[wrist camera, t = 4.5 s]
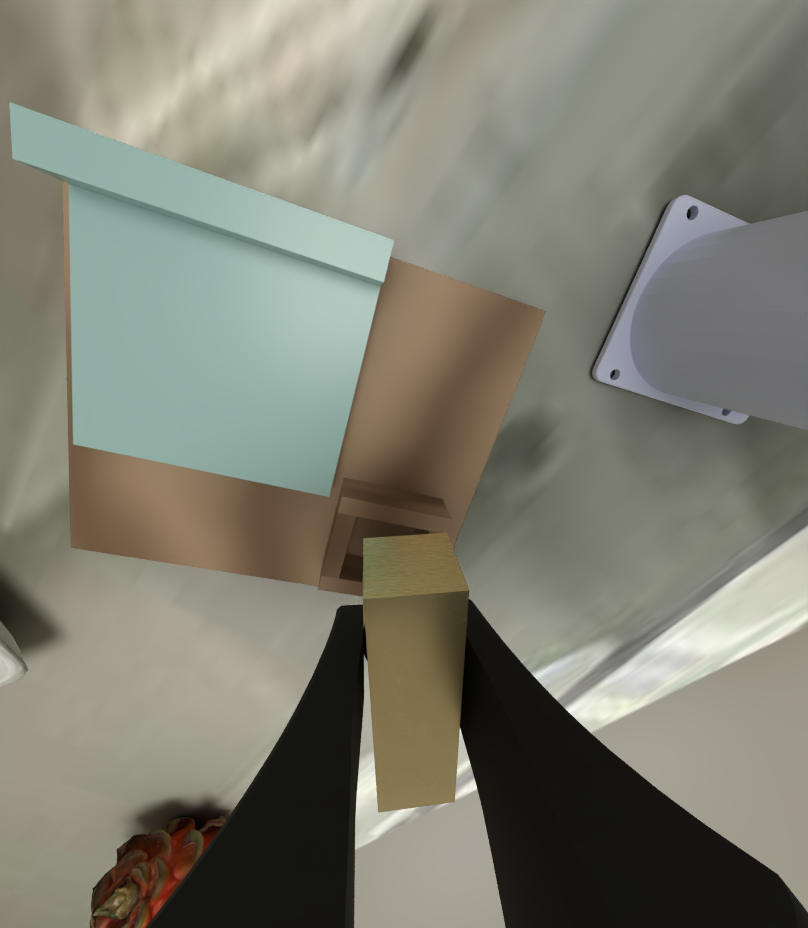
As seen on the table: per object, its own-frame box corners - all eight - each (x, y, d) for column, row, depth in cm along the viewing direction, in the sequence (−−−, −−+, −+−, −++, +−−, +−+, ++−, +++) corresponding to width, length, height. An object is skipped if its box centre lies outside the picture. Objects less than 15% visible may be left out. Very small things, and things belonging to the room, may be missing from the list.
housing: (531, 311, 17) (570, 311, 14) (426, 585, 22) (437, 631, 19) (92, 160, 13) (7, 111, 10) (91, 530, 19) (36, 575, 16)
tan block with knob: (430, 643, 14) (462, 801, 10) (367, 650, 14) (370, 813, 10) (433, 479, 12) (479, 589, 7) (356, 484, 11) (352, 600, 7)
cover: (387, 255, 14) (394, 240, 11) (331, 485, 18) (325, 520, 15) (94, 153, 12) (8, 102, 9) (93, 434, 16) (31, 463, 13)
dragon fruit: (135, 773, 28) (275, 791, 34) (56, 914, 25) (223, 908, 31) (130, 866, 21) (308, 870, 27) (19, 1076, 18) (243, 1032, 24)
